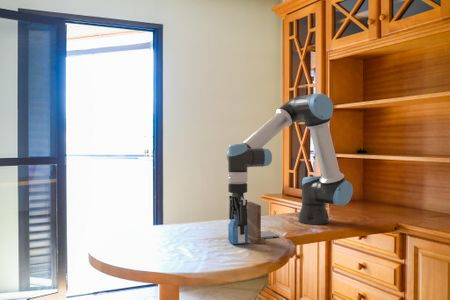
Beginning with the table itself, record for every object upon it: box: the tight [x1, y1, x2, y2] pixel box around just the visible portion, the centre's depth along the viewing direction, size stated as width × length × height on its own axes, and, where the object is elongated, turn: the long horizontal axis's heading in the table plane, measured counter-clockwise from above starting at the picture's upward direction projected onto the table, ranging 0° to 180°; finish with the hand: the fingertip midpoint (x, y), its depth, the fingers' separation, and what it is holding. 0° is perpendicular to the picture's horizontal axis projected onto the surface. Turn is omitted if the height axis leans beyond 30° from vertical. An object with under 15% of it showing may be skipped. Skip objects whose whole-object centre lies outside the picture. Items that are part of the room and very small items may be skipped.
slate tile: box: [261, 230, 280, 239], centre depth 169 cm, size 9×9×1 cm
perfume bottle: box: [227, 211, 249, 245], centre depth 157 cm, size 6×6×12 cm
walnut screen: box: [247, 201, 267, 245], centre depth 161 cm, size 5×12×15 cm, turn 20°
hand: (238, 240), depth 157 cm, fingers closed on perfume bottle, 6 cm apart
